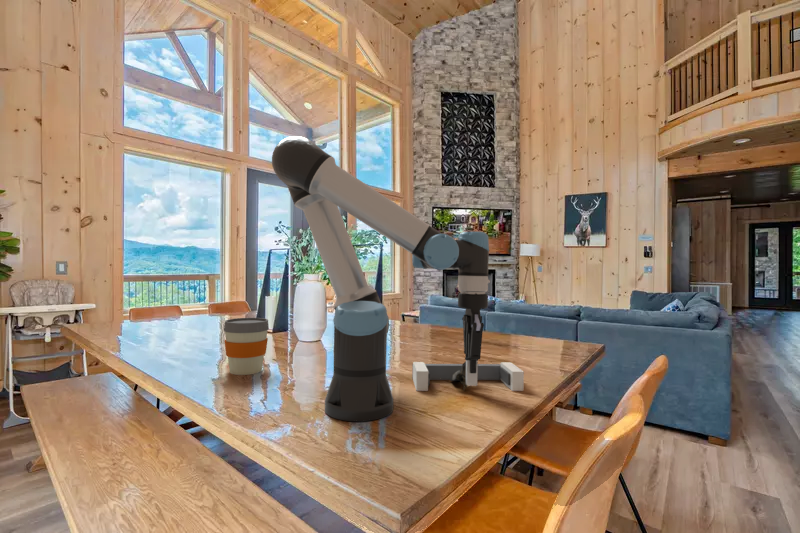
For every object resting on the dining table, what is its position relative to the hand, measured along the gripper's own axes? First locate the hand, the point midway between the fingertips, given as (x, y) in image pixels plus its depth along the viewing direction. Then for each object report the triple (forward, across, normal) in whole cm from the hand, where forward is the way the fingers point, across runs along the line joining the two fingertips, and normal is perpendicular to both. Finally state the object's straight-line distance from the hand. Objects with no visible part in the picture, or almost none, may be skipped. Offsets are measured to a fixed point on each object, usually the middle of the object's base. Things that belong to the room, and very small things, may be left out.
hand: (471, 384), depth 102 cm
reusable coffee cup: (+2, +20, +63) cm, 66 cm away
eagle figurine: (+2, +6, +1) cm, 6 cm away
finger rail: (+2, +6, 0) cm, 6 cm away
